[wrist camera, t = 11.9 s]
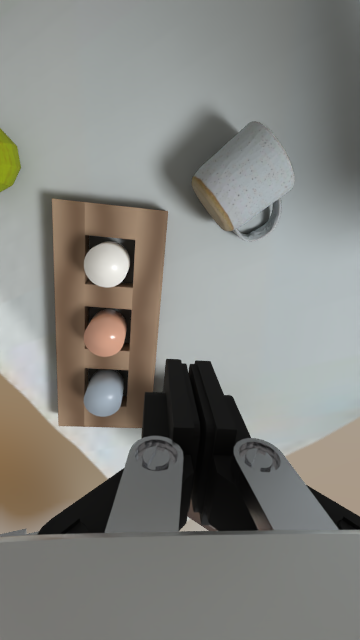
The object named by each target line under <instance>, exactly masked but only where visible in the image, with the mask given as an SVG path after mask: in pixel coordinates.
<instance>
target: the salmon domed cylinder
mask: <svg viewBox="0 0 360 640" xmlns="http://www.w3.org/2000/svg"><path fill="white" fill-rule="evenodd" d="M126 331H127V323H126V320H125V318H124V317H123V315H122V314H120V313H119V312H117V311H115V310H111V309H105V310H101V311H99V312H98V313H96V314H95V315H94V317H93V318H92V320H91V322H90V323H89V325H88V327H87V328H86V330H85V332H84V343H85V345H86V347H87V348H88V350H89V351H90V352H92V353H93V354H95V355H98V356H101V357H108V356H112V355H114V354H116V353H118V352H119V351H120V350H121V348H122V347H123V344H124V340H125V336H126Z"/></svg>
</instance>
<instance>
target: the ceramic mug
mask: <svg viewBox="0 0 360 640" xmlns="http://www.w3.org/2000/svg"><path fill="white" fill-rule="evenodd" d="M294 183H295V178H294V172H293V168H292V165H291V162H290V159H289V158H288V155H287V153H286V151H285V150H284V148H283V146H282V145H281V144H280V142H279V141H278V139H277V138H276V136H275V135H274V134H273V133H272V131H271V130H270V129H268V128H267V127H266V126H264V125H263V124H261V123H259V122H255V121H254V122H250V123H249V124H248V125H246V126H245V127H244V128H243V129H242V130H241V131H240V132H239V133H238V134H237V135H235V136H234V137H233V138H232V139H231V140H230V141H229V142H228V143H226V144H225V145H224V146H223V147H222V148H221V149H220V150H219V151H218V152H217V153H216V154H215V155H213V156H212V157H211V158H210V159H209V160H208V161H207V162H206V163H204V164H203V165H202V166H201V167H200V168H199V170H198V171H197V172H196V173H195V175H194V176H193V178H192V187H193V190H194V192H195V193H196V195H197V197H198V198H199V200H200V201H201V203H202V204H203V206H204V207H205V209H206V210H207V211H208V213H209V214H210V215H211V217H212V218H213V219H214V220H215V222H216V223H217V224H218V225H219V226H220V227H221V228H222V229H223V230H225V231H233V232H234V233H235V234H236V235H237V236H239V237H240V238H241V239H243V240H245V241H257V240H259V239H262V238H264V237H265V236H267V235H268V234H269V233H270V232H271V231H272V230H273V229H274V228H275V227H276V225H277V223H278V221H279V219H280V215H281V197H282V196H283V195H285V194H286V193H287V192H289V191H290V190H291V189H292V188H293V186H294ZM272 203H273V210H272V214H271V216H270V218H269V220H268V221H267V222H266V223H265V224H264V225H263V226H261V227H260V228H258V229H256V230H255V231H252V232H251V233H249V234H243V233H240V232H239V231H238V229H237V228H239V227H241V226H242V225H244V224H245V223H246V222H248V221H249V220H250V219H252V218H253V217H254V216H255V215H257V214H258V213H259V212H261V211H262V210H264V209H265V208H267V207H268V206H269V205H271V204H272Z"/></svg>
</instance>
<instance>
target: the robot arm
mask: <svg viewBox="0 0 360 640" xmlns="http://www.w3.org/2000/svg"><path fill="white" fill-rule="evenodd" d="M191 499H192V507H193V512H194V513H199V514H200V521H201V525H212V526H213V527H214V528H215V529H216V530H218V531H187V532H179V530H180V529H181V528H182V527H183V526H184V525H185V524H186V521H187V514H188V512H189V509H190V502H191ZM0 640H360V517H359V516H358V515H356V514H354V513H353V512H351V511H349V510H348V509H346V508H344V507H342V506H341V505H339V504H338V503H336V502H334V501H332V500H331V499H329V498H327V497H326V496H324V495H322V494H321V493H319V492H317V491H316V490H314V489H312V488H310V487H309V486H307V485H305V483H304V482H303V480H302V479H301V478H300V476H299V475H298V474H297V472H296V471H295V470H294V468H293V467H292V466H291V464H290V463H289V462H288V460H287V459H286V457H285V456H284V455H283V453H282V452H281V451H280V450H279V449H278V448H277V447H275V446H274V445H272V444H271V443H269V442H266V441H264V440H260V439H256V438H251V437H250V434H249V432H248V430H247V428H246V425H245V423H244V421H243V419H242V416H241V414H240V412H239V410H238V408H237V405H236V403H235V401H234V399H233V397H232V396H230V395H224V394H223V392H222V389H221V387H220V384H219V382H218V379H217V377H216V374H215V372H214V369H213V367H212V364H211V362H210V361H195V364H190V366H189V373H188V369H187V365H186V364H182V363H181V360H178V359H166V365H165V376H164V386H163V393H158V392H145V395H144V408H143V422H142V439H140V440H138V441H137V442H136V443H134V444H133V445H132V447H131V449H130V451H129V454H128V458H127V461H126V464H125V468H124V469H122V470H121V471H119V472H118V473H116V474H115V475H114V476H112V477H111V478H109V479H108V480H107V481H105V482H104V483H102V484H101V485H99V486H98V487H96V488H95V489H94V490H92V491H91V492H89V493H88V494H86V495H85V496H84V497H82V498H81V499H79V500H78V501H76V502H75V503H73V504H72V505H71V506H69V507H68V508H66V509H65V510H63V511H62V512H61V513H59V514H58V515H56V516H55V517H54V518H52V519H51V520H50V521H49V522H47V523H46V524H45V525H44V526H43V527H42V528H41V530H40V531H38V532H34V533H29V534H27V532H26V529H22V530H18V531H13V532H9V533H4V534H0Z"/></svg>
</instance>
